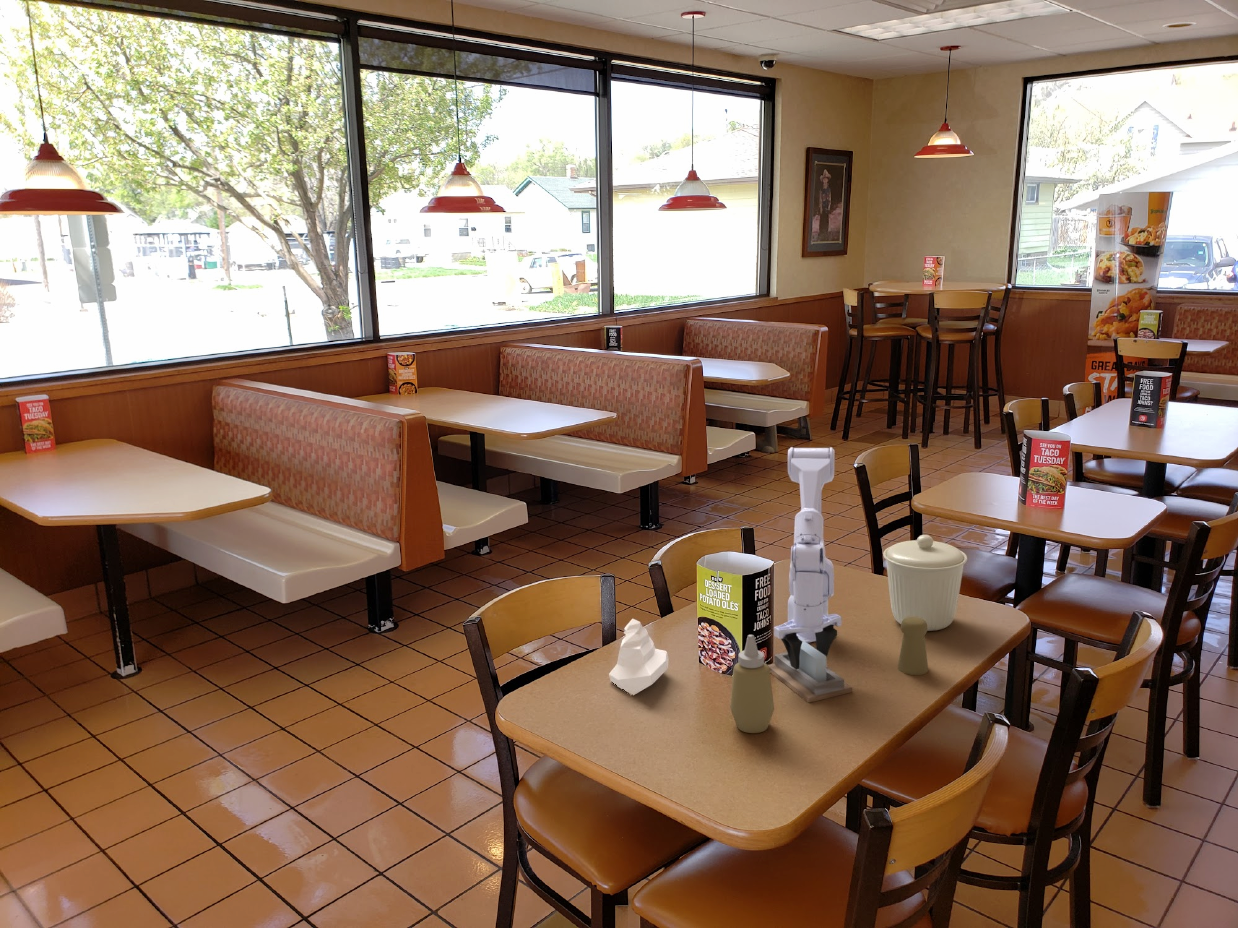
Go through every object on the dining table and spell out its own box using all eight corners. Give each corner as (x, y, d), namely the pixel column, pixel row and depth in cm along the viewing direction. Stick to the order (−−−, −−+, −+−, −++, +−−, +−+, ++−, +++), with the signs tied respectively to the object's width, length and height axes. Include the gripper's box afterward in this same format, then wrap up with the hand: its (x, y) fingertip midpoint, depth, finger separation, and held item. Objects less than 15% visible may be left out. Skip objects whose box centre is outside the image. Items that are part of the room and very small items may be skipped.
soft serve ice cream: (600, 701, 185) (583, 634, 184) (631, 675, 198) (615, 612, 198) (655, 696, 179) (637, 626, 179) (683, 670, 192) (667, 605, 192)
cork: (895, 672, 188) (896, 622, 185) (900, 660, 193) (902, 611, 190) (925, 677, 185) (927, 626, 182) (930, 664, 190) (932, 615, 187)
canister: (868, 626, 210) (869, 539, 205) (901, 601, 223) (903, 519, 219) (946, 645, 199) (949, 553, 194) (976, 618, 212) (980, 531, 207)
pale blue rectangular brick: (826, 684, 182) (826, 656, 180) (815, 686, 181) (815, 658, 180) (799, 664, 191) (799, 637, 190) (788, 666, 190) (788, 639, 189)
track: (766, 669, 192) (766, 656, 191) (807, 660, 195) (807, 646, 194) (808, 702, 177) (808, 688, 176) (852, 691, 180) (852, 677, 180)
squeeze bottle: (763, 741, 164) (762, 648, 160) (723, 730, 168) (720, 640, 164) (781, 721, 171) (780, 631, 167) (741, 711, 175) (739, 624, 171)
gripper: (786, 614, 176) (787, 679, 179) (850, 601, 181) (850, 664, 184) (768, 602, 182) (769, 665, 185) (830, 589, 187) (830, 651, 190)
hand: (808, 663), depth 185 cm, fingers open, 6 cm apart
